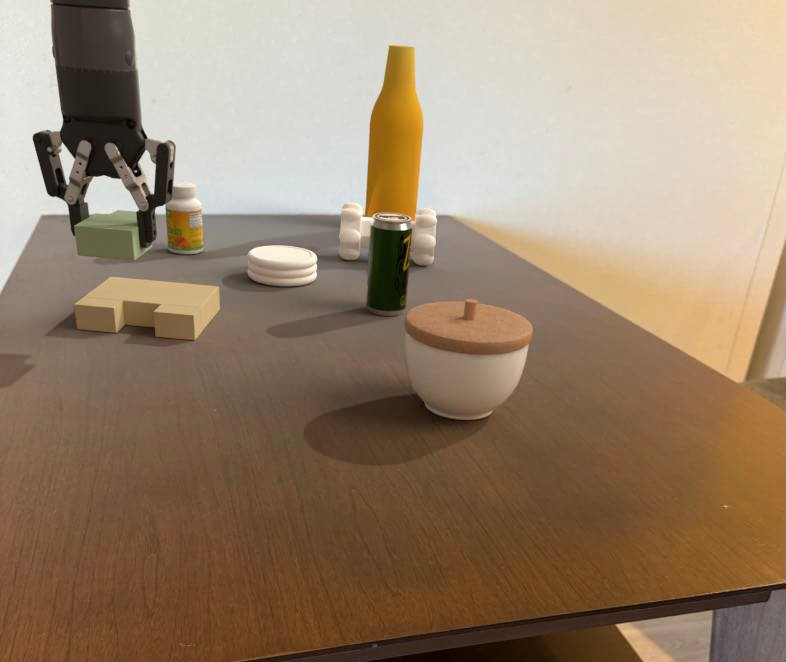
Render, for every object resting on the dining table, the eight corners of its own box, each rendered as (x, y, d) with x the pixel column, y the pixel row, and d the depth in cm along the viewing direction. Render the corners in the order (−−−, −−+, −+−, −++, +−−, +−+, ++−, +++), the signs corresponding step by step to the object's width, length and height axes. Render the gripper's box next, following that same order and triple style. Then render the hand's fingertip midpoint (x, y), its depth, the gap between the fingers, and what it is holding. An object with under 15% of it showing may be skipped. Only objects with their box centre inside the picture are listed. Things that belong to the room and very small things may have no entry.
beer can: (366, 315, 112) (371, 220, 105) (365, 303, 116) (370, 211, 110) (406, 317, 112) (414, 223, 106) (404, 305, 117) (411, 213, 110)
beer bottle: (353, 227, 154) (361, 42, 138) (391, 223, 159) (403, 44, 144) (387, 239, 148) (400, 48, 133) (425, 233, 154) (441, 49, 138)
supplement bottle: (160, 250, 132) (155, 183, 127) (186, 244, 136) (182, 179, 130) (185, 257, 129) (181, 189, 124) (210, 251, 133) (208, 185, 128)
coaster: (258, 289, 118) (258, 263, 116) (239, 269, 126) (238, 245, 124) (326, 285, 122) (327, 260, 120) (303, 267, 129) (304, 243, 127)
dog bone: (431, 257, 140) (436, 205, 136) (433, 271, 133) (438, 216, 128) (340, 250, 139) (342, 198, 135) (337, 264, 132) (339, 209, 128)
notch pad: (77, 329, 100) (73, 304, 98) (112, 299, 110) (110, 276, 108) (195, 340, 99) (193, 315, 98) (220, 309, 109) (219, 286, 108)
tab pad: (134, 260, 88) (131, 230, 86) (77, 255, 88) (73, 225, 86) (159, 241, 95) (157, 213, 93) (106, 236, 95) (103, 208, 93)
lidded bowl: (515, 439, 82) (534, 328, 77) (388, 421, 84) (396, 311, 78) (522, 391, 93) (538, 291, 87) (408, 376, 94) (417, 276, 89)
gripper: (182, 66, 84) (192, 241, 93) (39, 54, 84) (62, 229, 93) (159, 71, 78) (171, 258, 87) (4, 58, 78) (33, 246, 87)
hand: (115, 243), depth 90 cm, fingers closed on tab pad, 6 cm apart
